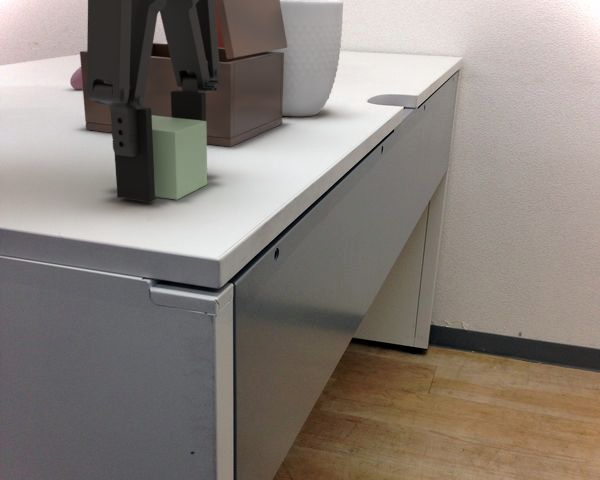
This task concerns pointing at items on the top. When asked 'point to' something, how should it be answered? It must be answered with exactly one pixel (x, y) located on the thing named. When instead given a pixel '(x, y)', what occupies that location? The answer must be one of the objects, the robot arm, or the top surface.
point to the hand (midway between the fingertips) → (164, 184)
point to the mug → (310, 53)
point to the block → (179, 156)
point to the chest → (211, 95)
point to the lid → (251, 26)
